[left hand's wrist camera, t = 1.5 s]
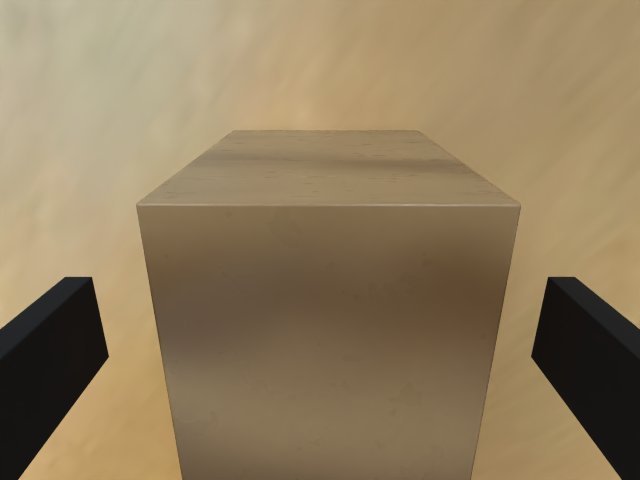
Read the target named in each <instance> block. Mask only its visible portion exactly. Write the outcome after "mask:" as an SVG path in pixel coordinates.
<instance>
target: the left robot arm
mask: <svg viewBox="0 0 640 480" xmlns="http://www.w3.org/2000/svg"><path fill="white" fill-rule="evenodd" d="M108 357H109V355H108V350H107V346H106V341H105V336H104V332H103V327H102V322H101V317H100V313H99V308H98V303H97V299H96V294H95V289H94V285H93V280H92V277H65V278H63V279H62V280H61V281H60V282H58V283H57V284H56V285H55V286H53V287H52V288H51V289H50V290H48V291H47V292H46V293H45V294H44V295H42V296H41V297H40V298H39V299H37V300H36V301H35V302H34V303H32V304H31V305H30V306H29V307H27V308H26V309H25V310H24V311H22V312H21V313H20V314H19V315H18V316H16V317H15V318H14V319H13V320H11V321H10V322H9V323H8V324H6V325H5V326H4V327H3V328H1V329H0V480H18V479H19V478H20V476H21V475H22V474H23V472H24V471H25V470H26V468H27V467H28V466H29V464H30V463H31V462H32V460H33V459H34V457H35V456H36V455H37V453H38V452H39V451H40V449H41V448H42V447H43V445H44V444H45V443H46V441H47V440H48V439H49V437H50V436H51V434H52V433H53V432H54V430H55V429H56V428H57V426H58V425H59V424H60V422H61V421H62V420H63V418H64V417H65V416H66V414H67V413H68V411H69V410H70V409H71V407H72V406H73V405H74V403H75V402H76V401H77V399H78V398H79V397H80V395H81V394H82V393H83V391H84V390H85V388H86V387H87V386H88V384H89V383H90V382H91V380H92V379H93V378H94V376H95V375H96V374H97V372H98V371H99V370H100V368H101V367H102V365H103V364H104V363H105V361H106V360H107V359H108ZM531 357H532V359H533V360H534V361H535V363H536V364H537V365H538V367H539V368H540V370H541V371H542V372H543V374H544V375H545V376H546V378H547V379H548V380H549V382H550V383H551V384H552V386H553V387H554V388H555V390H556V391H557V393H558V394H559V395H560V397H561V398H562V399H563V401H564V402H565V403H566V405H567V406H568V407H569V409H570V410H571V411H572V413H573V414H574V416H575V417H576V418H577V420H578V421H579V422H580V424H581V425H582V426H583V428H584V429H585V430H586V432H587V433H588V434H589V436H590V437H591V439H592V440H593V441H594V443H595V444H596V445H597V447H598V448H599V449H600V451H601V452H602V453H603V455H604V456H605V457H606V459H607V460H608V462H609V463H610V464H611V466H612V467H613V468H614V470H615V471H616V472H617V474H618V475H619V476H620V478H621V479H622V480H640V329H639V328H637V327H636V326H635V325H634V324H632V323H631V322H630V321H629V320H627V319H626V318H625V317H624V316H622V315H621V314H620V313H619V312H618V311H616V310H615V309H614V308H613V307H611V306H610V305H609V304H608V303H606V302H605V301H604V300H603V299H601V298H600V297H599V296H598V295H596V294H595V293H594V292H593V291H592V290H590V289H589V288H588V287H587V286H585V285H584V284H583V283H582V282H580V281H579V280H578V279H577V278H575V277H548V280H547V285H546V289H545V294H544V299H543V303H542V308H541V313H540V317H539V322H538V327H537V332H536V336H535V341H534V346H533V350H532V355H531Z"/></svg>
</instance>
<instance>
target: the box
mask: <svg viewBox="0 0 640 480" xmlns="http://www.w3.org/2000/svg"><path fill="white" fill-rule="evenodd" d="M136 207H137V213H138V219H139V225H140V231H141V237H142V242H143V248H144V254H145V260H146V266H147V272H148V278H149V284H150V290H151V296H152V302H153V308H154V314H155V320H156V326H157V331H158V337H159V343H160V349H161V355H162V361H163V367H164V373H165V379H166V385H167V391H168V397H169V403H170V409H171V415H172V421H173V426H174V432H175V438H176V444H177V450H178V456H179V462H180V468H181V474H182V480H471V475H472V469H473V464H474V458H475V453H476V447H477V442H478V437H479V431H480V426H481V420H482V415H483V409H484V404H485V399H486V393H487V388H488V382H489V377H490V371H491V366H492V361H493V355H494V350H495V344H496V339H497V334H498V328H499V323H500V317H501V312H502V306H503V301H504V296H505V290H506V285H507V279H508V274H509V268H510V263H511V258H512V252H513V247H514V241H515V236H516V230H517V225H518V220H519V214H520V209H521V205H520V203H518V202H517V201H515V200H514V199H513V198H511V197H510V196H508V195H507V194H506V193H504V192H503V191H501V190H500V189H499V188H497V187H496V186H494V185H493V184H492V183H490V182H489V181H487V180H486V179H485V178H483V177H482V176H480V175H479V174H478V173H476V172H475V171H473V170H472V169H471V168H469V167H468V166H466V165H465V164H464V163H462V162H461V161H459V160H458V159H457V158H455V157H454V156H452V155H451V154H450V153H448V152H447V151H445V150H444V149H443V148H441V147H440V146H438V145H437V144H436V143H434V142H433V141H431V140H430V139H429V138H427V137H426V136H424V135H423V134H422V133H420V132H419V131H233V132H231V133H230V134H229V135H227V136H226V137H225V138H223V139H222V140H221V141H219V142H218V143H217V144H215V145H214V146H213V147H211V148H210V149H209V150H207V151H206V152H205V153H203V154H202V155H201V156H199V157H198V158H197V159H195V160H194V161H193V162H191V163H190V164H189V165H187V166H186V167H185V168H183V169H182V170H181V171H179V172H178V173H177V174H175V175H174V176H173V177H171V178H170V179H169V180H167V181H166V182H165V183H163V184H162V185H161V186H159V187H158V188H157V189H155V190H154V191H153V192H151V193H150V194H149V195H147V196H146V197H145V198H143V199H142V200H141V201H139V202H138V203H137V205H136Z"/></svg>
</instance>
